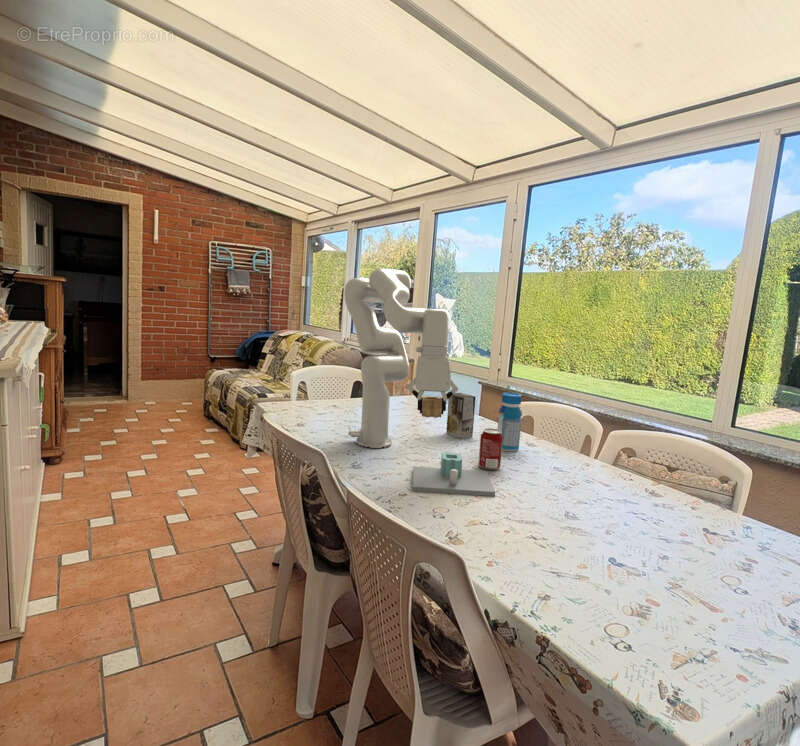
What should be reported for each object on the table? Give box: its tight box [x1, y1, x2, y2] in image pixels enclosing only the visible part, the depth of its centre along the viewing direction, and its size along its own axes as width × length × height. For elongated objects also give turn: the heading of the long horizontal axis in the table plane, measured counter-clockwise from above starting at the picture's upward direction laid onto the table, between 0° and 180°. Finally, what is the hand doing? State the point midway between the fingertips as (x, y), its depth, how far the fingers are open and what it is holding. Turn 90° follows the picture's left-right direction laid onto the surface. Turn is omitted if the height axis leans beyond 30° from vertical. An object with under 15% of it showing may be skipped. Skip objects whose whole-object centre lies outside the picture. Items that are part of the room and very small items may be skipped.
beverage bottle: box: [496, 392, 523, 452], centre depth 168 cm, size 8×8×20 cm
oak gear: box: [421, 395, 442, 419], centre depth 138 cm, size 6×7×5 cm
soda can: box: [477, 427, 503, 471], centre depth 148 cm, size 7×7×12 cm
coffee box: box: [445, 392, 476, 440], centre depth 183 cm, size 9×6×16 cm
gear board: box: [412, 451, 496, 497], centre depth 133 cm, size 22×16×6 cm
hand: (431, 412), depth 139 cm, fingers closed on oak gear, 5 cm apart
